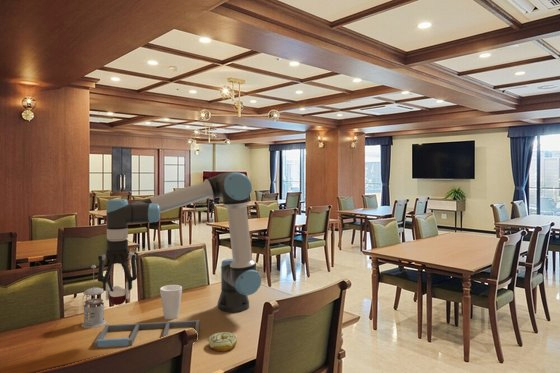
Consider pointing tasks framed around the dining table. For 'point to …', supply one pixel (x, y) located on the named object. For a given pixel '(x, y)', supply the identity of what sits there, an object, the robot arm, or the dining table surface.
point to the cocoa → (116, 293)
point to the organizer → (135, 327)
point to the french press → (93, 308)
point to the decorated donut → (222, 341)
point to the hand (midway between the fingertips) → (117, 298)
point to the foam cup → (171, 300)
